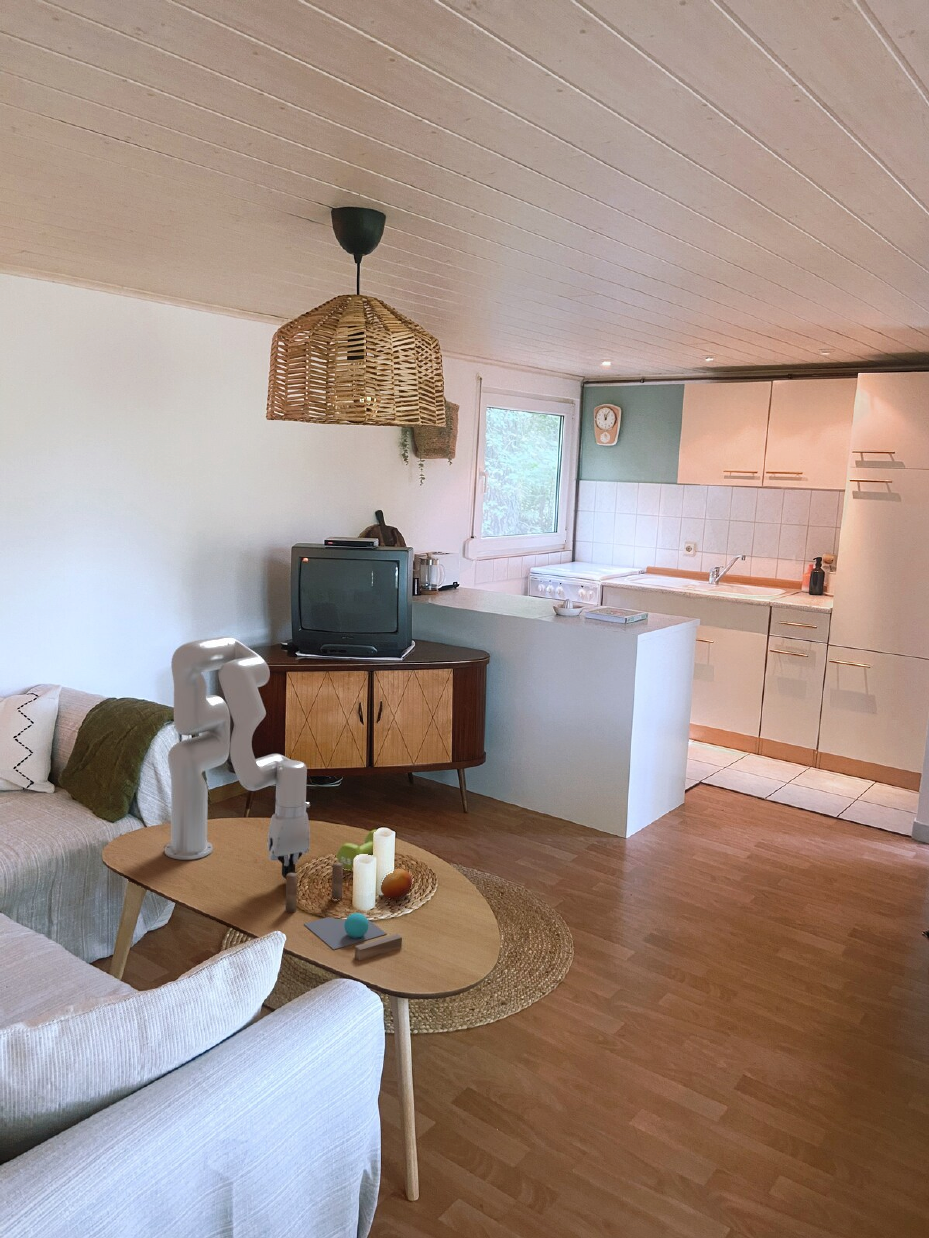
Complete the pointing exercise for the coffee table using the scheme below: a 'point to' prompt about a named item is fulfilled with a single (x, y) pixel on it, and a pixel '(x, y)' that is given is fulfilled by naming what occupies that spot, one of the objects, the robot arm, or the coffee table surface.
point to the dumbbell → (355, 851)
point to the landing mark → (340, 932)
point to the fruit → (397, 884)
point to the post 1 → (291, 892)
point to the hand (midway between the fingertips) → (288, 877)
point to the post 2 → (337, 880)
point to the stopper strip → (378, 947)
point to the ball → (356, 925)
